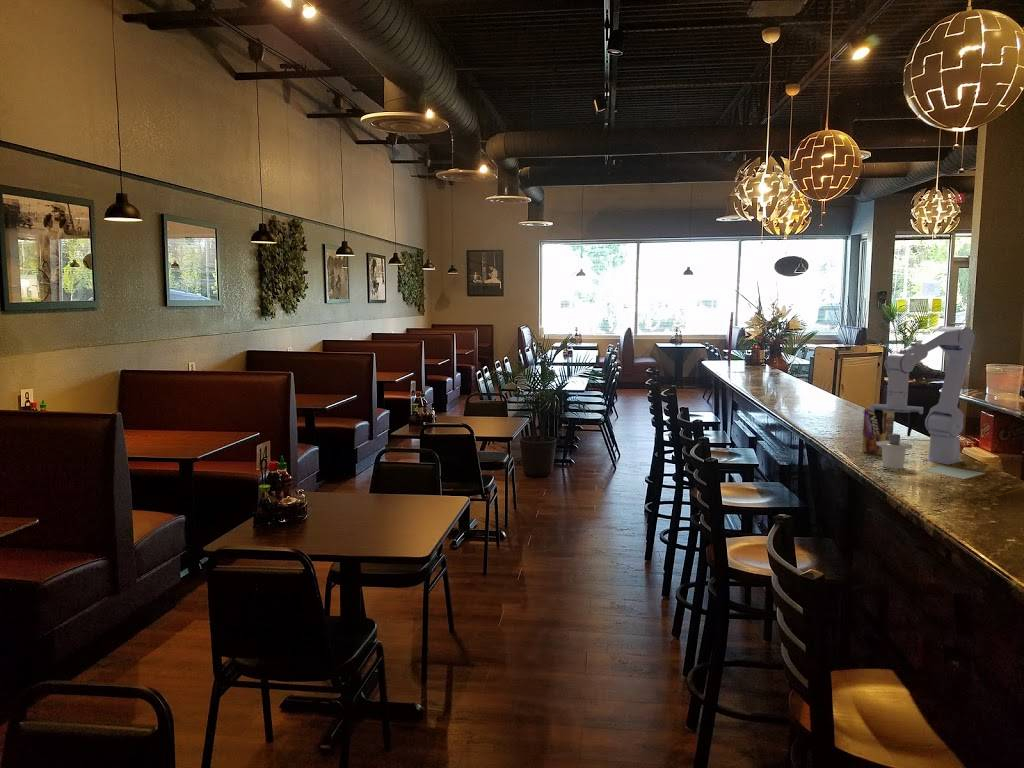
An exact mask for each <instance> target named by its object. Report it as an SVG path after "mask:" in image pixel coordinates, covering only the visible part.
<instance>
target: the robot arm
mask: <svg viewBox="0 0 1024 768" xmlns="http://www.w3.org/2000/svg"><path fill="white" fill-rule="evenodd" d="M975 338H976V335H975V334H974V331H973V329H972V327H970V326H964V327H963V326H944V325H941V326H938V327H937V328H935V329H934V330H933V333H932V334H931V335H929V336H928V337H926V338H924V340H922V341H920V342H919V341H912V342H910V343H909V345H908V346H906V347H904V348H902V349H900V350H899V351H898V352H897V353H896V352H892V353H890V354H888V356H886V359H885V361H884V363H883V364H884V367H885V370H886V376H887V388H886V389H887V390H886V404H885V403H884V404H883V403H879V404H876V403H870V408H871V409H870V411H874V414H875V416H876V419H877V421H878V425H879V429H880V434H882V420H883V411H888V412H894V413H908V414H909V415H908V427H907V433H906V436H907V437H911V434H912V431H913V427H914V425H915V424H916V422H917V421H918V418H919V417H920V415H924V407H923V406H915V405H913V406H912V405H908V397H909V396H908V395H909V384H910V383H909V382H910V381H909V380H910V372H912V371H913V370H914V368H915V366H916V365H917V363H919V362H921V361H923V360H924V359H926V358H927V356H928V354H929V352H931V351H932V350H934V349H937V348H938V347H939V348H940V349H941V350H942V351H943V352H944V353H945V354H947V355H948V357H949V359H948V362H947V367H946V371H945V376H944V379H943V383H942V387H941V390H940V391H941V392H940V396H939V399H938V403H937V404H935V405H934V406H932V407H930V409H929V412H928V414H927V416H926V418H925V420H924V426H925V428H926V430H927V431H928V434H930V438H929V448H928V449H929V450H928V457H926V458H923V459H922V460H923V461H926V462H932V463H938V464H944V465H951V464H956V463H959V462H960V463H961V462H963V460H962V459H960V452H961V440H960V438H959V435H960V434H961V433H962V431H963V429H964V416H965V414H964V413H963V412H962V411H961V410H960V408H959V407H958V404H959V401H960V396H961V392H962V388H963V384H964V379H965V375H966V373H967V367H968V363H969V358H970V355H971V354H972V352H973V351H972V350H973V347H974V343H975Z"/></svg>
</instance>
